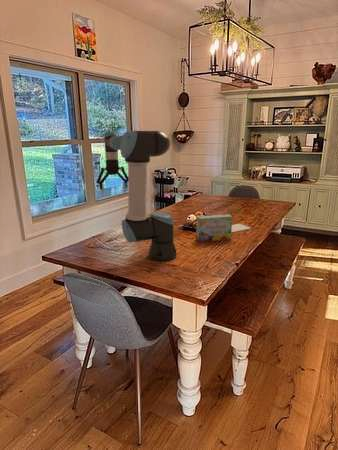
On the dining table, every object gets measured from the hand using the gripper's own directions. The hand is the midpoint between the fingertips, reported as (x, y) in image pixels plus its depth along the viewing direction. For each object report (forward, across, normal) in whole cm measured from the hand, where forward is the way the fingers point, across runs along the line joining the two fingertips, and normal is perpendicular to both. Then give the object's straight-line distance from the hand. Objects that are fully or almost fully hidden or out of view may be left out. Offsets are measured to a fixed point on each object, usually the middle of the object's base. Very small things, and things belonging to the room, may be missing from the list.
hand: (113, 194), depth 196 cm
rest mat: (+27, -74, +22) cm, 82 cm away
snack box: (+28, -52, +34) cm, 68 cm away
